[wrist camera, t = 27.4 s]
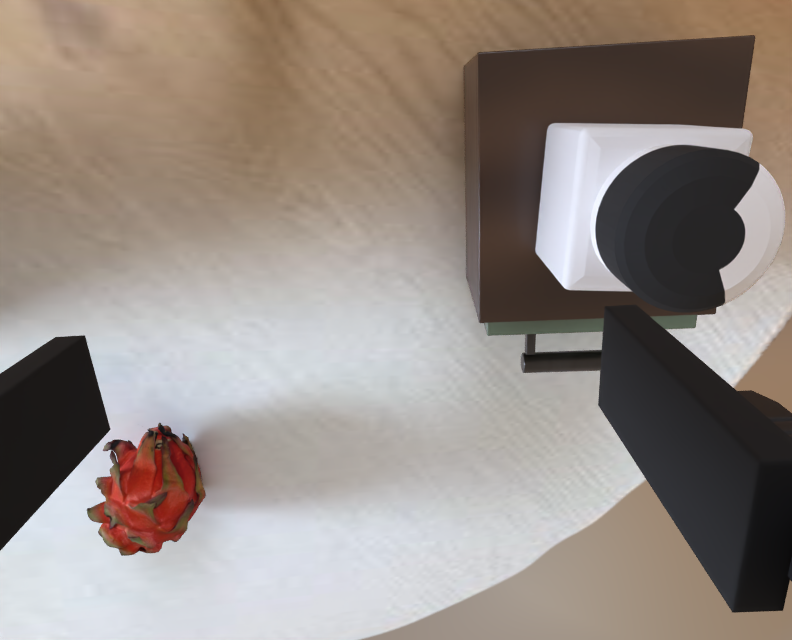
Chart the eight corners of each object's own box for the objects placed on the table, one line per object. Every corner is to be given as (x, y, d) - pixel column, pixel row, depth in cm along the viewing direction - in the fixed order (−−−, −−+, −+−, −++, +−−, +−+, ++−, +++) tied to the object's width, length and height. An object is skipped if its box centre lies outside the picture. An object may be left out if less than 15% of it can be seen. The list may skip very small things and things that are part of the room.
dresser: (652, 270, 43) (716, 314, 34) (466, 278, 44) (479, 323, 34) (674, 52, 38) (756, 34, 29) (463, 65, 39) (477, 52, 29)
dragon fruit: (155, 510, 54) (186, 394, 52) (210, 563, 50) (246, 439, 47) (61, 538, 47) (91, 405, 45) (115, 602, 43) (152, 459, 40)
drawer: (642, 342, 44) (687, 390, 37) (475, 348, 45) (487, 396, 37) (666, 92, 38) (727, 88, 30) (474, 103, 39) (487, 101, 31)
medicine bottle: (533, 254, 33) (593, 331, 22) (546, 122, 30) (621, 131, 19) (659, 257, 33) (786, 335, 21) (683, 124, 30) (840, 134, 19)
